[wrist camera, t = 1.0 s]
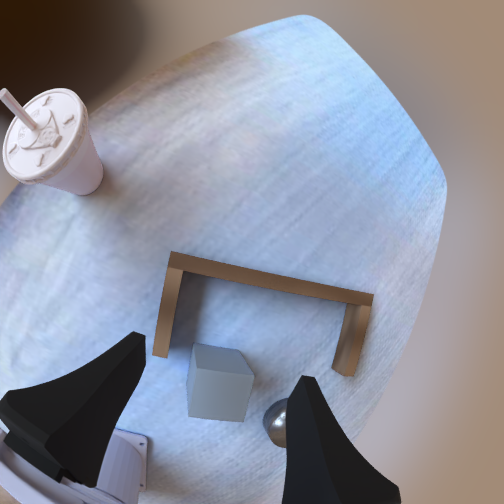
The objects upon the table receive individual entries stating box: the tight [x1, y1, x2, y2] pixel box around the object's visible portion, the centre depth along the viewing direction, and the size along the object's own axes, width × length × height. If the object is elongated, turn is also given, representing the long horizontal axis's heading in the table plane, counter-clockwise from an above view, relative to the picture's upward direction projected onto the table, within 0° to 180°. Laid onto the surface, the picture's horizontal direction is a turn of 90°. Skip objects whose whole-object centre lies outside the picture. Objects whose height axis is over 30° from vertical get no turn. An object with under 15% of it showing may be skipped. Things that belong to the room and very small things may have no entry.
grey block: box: [186, 343, 255, 422], centre depth 20 cm, size 4×4×6 cm
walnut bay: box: [152, 251, 374, 376], centre depth 23 cm, size 8×18×2 cm, turn 78°
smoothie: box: [0, 88, 103, 195], centre depth 14 cm, size 6×6×14 cm
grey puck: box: [263, 398, 288, 448], centre depth 23 cm, size 5×5×2 cm
